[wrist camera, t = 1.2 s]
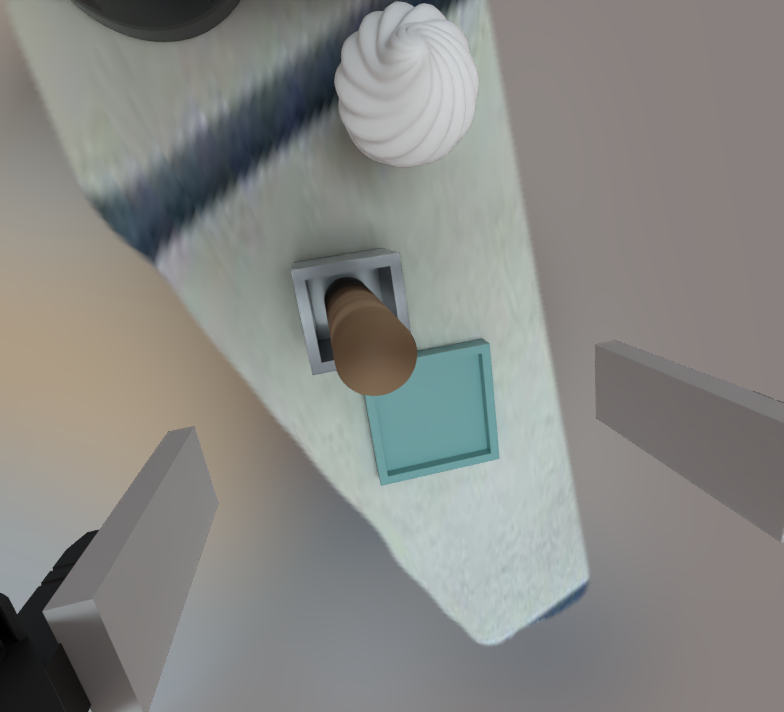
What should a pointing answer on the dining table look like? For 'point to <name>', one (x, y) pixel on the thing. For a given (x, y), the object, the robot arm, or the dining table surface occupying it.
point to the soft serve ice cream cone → (406, 85)
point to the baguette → (367, 339)
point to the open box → (317, 274)
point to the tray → (436, 415)
